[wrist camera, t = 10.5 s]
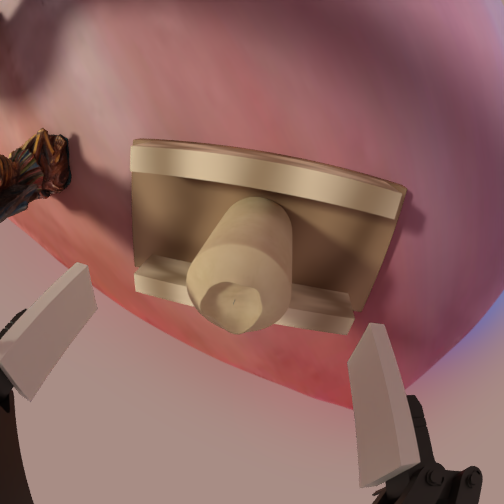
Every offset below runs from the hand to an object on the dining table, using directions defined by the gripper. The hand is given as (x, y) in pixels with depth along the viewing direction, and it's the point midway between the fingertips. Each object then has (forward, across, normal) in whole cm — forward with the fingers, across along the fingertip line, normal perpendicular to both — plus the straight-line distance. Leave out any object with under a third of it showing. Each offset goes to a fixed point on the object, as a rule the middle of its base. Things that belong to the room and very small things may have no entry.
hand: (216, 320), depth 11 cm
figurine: (+13, -22, +4) cm, 26 cm away
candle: (+11, +1, 0) cm, 11 cm away
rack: (+12, 0, 0) cm, 12 cm away
